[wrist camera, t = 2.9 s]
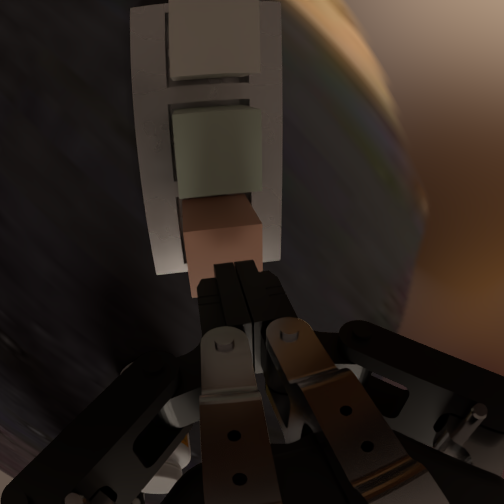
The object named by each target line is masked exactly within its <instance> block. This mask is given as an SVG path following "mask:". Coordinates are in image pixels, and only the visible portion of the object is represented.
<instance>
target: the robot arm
mask: <svg viewBox="0 0 504 504" xmlns="http://www.w3.org/2000/svg"><path fill="white" fill-rule="evenodd" d="M213 266H214V278H205V279H201V281H200V282H199V284H198V286H197V296H198V305H199V313H200V322H201V330H202V339H201V342H200V343H199V345H198V346H197V347H196V348H195V349H194V350H193V351H191V352H189V353H187V354H185V355H182V356H180V357H177V358H175V357H174V356H173V355H172V354H170V353H168V352H164V351H151V352H148V353H145V354H143V355H141V356H140V357H138V358H137V359H136V360H135V361H134V362H133V363H132V364H131V365H130V366H129V367H128V368H127V369H126V370H125V371H124V372H123V373H122V374H121V375H120V376H118V377H117V378H116V379H115V380H114V381H113V382H112V383H111V384H110V385H109V386H108V387H107V388H106V389H105V390H104V391H103V392H102V393H101V394H100V395H99V396H98V397H97V398H96V399H95V400H94V401H93V402H92V403H91V404H90V405H89V406H88V407H87V408H86V409H85V410H84V411H83V412H82V413H80V414H79V415H78V416H77V417H76V418H75V419H74V420H73V421H72V422H71V423H70V424H69V425H68V426H67V427H66V428H65V429H64V430H63V431H62V432H61V433H60V434H59V435H58V436H57V437H56V438H55V439H54V440H53V441H52V442H51V443H50V444H49V445H48V446H47V447H46V448H45V449H44V450H43V451H42V452H41V453H40V454H39V455H38V456H36V457H35V458H34V459H33V460H32V461H31V462H30V463H29V464H28V465H27V466H26V467H25V468H24V469H23V470H22V471H21V472H20V473H19V474H18V475H17V476H16V477H15V478H14V479H13V480H12V481H11V482H10V483H9V484H8V485H7V486H6V487H5V489H4V490H3V493H2V496H1V504H131V503H132V502H133V501H134V499H135V498H136V497H137V496H138V495H139V493H140V492H141V491H142V490H143V489H144V487H145V486H146V485H147V484H148V483H149V481H150V480H151V479H152V478H153V477H154V475H155V474H156V473H157V472H158V470H159V469H160V468H161V467H162V465H163V464H164V463H165V462H166V460H167V459H168V458H169V457H170V455H171V454H172V453H173V452H174V450H175V449H176V448H177V447H178V445H179V444H180V443H181V441H182V440H183V439H184V438H185V436H186V435H187V434H188V432H189V431H190V430H191V428H192V427H193V424H194V422H196V421H199V420H200V437H201V457H202V463H200V464H198V465H196V466H194V467H193V468H191V469H190V470H188V471H187V472H186V473H185V474H183V475H182V476H181V477H180V478H179V480H178V481H177V482H176V483H175V484H174V486H173V487H172V488H171V490H170V491H169V493H168V494H167V495H166V497H165V498H164V500H163V501H162V502H161V504H504V479H503V478H502V477H501V476H502V472H503V469H504V376H501V375H499V374H496V373H494V372H491V371H489V370H486V369H484V368H481V367H478V366H476V365H473V364H470V363H468V362H466V361H463V360H461V359H458V358H455V357H453V356H451V355H448V354H446V353H443V352H440V351H438V350H436V349H433V348H431V347H428V346H426V345H423V344H421V343H418V342H416V341H414V340H411V339H409V338H406V337H404V336H401V335H399V334H397V333H394V332H392V331H389V330H387V329H384V328H382V327H380V326H377V325H375V324H372V323H370V322H367V321H362V320H355V321H350V322H347V323H345V324H344V325H343V326H342V327H341V328H340V331H339V333H327V332H318V331H314V330H312V328H311V327H310V326H309V324H307V323H306V322H305V321H303V320H301V319H298V317H297V315H296V313H295V311H294V309H293V307H292V305H291V303H290V301H289V299H288V297H287V295H286V294H285V291H284V289H283V287H282V285H281V283H280V281H279V279H278V277H277V276H275V275H274V274H272V273H271V272H270V271H261V272H258V269H257V267H256V265H255V262H254V260H244V261H236V262H234V264H233V262H228V263H220V264H214V265H213ZM253 368H254V369H253ZM254 371H255V374H256V373H262V372H263V373H264V377H265V390H266V393H267V395H268V398H269V400H270V403H271V405H272V407H273V410H274V412H275V415H276V417H277V419H278V422H279V424H280V426H281V429H282V431H283V434H284V437H285V442H286V444H270V440H269V435H268V430H267V425H266V420H265V414H264V409H263V404H262V399H261V394H260V391H259V390H257V386H256V380H255V375H254ZM372 372H374V373H377V374H379V375H381V376H383V377H386V378H388V379H390V380H392V381H395V382H397V383H399V384H401V385H404V386H405V387H407V389H408V390H403V389H400V388H398V387H395V386H393V385H391V384H389V383H387V382H384V381H382V380H380V379H378V378H376V377H373V376H371V374H372ZM425 444H426V445H425ZM427 445H428V446H427ZM430 446H431V447H430ZM432 447H433V448H432Z"/></svg>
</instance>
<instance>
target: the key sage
mask: <svg viewBox="0 0 504 504" xmlns="http://www.w3.org/2000/svg"><path fill="white" fill-rule="evenodd" d="M172 119H173V134H174V147H175V159H176V170H177V181H178V191H179V199H184V198H193V197H202V196H212V195H223V194H233V193H245V192H257V191H262V124H261V109H258V108H254V107H250V106H246V105H223V106H208V107H195V108H184V109H175V110H174V112H173V114H172Z"/></svg>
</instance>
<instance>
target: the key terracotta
mask: <svg viewBox="0 0 504 504" xmlns="http://www.w3.org/2000/svg"><path fill="white" fill-rule="evenodd" d="M182 215H183V235H184V243H185V251H186V259H187V266H188V273H189V280H190V287H191V294H192V298H196V297H198V296H197V286H198V284H199V282H200V281H201V279H205V278H214V266H213V265H214V264H220V263H228V262H233V264H234V262H236V261H244V260H254V262H255V265H256V267H257V269H258V272H261V271H263V244H262V222H261V221H260V219H259V217H258V216H257V214H256V212H255V211H254V209H253V207H252V206H251V204H250V202H249V201H248V199H247V197H246V196H245V194H232V195H222V196H212V197H202V198H192V199H183V200H182Z"/></svg>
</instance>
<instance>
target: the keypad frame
mask: <svg viewBox="0 0 504 504" xmlns="http://www.w3.org/2000/svg"><path fill="white" fill-rule="evenodd" d="M259 13H260V61H261V73H257V74H252V75H248V76H243V77H225V78H206V79H192V80H181V81H173V80H172V79H171V78H170V59H169V3H164V4H155V5H148V6H140V7H134V8H130V50H131V76H132V93H133V108H134V120H135V131H136V141H137V151H138V160H139V168H140V176H141V184H142V191H143V198H144V205H145V212H146V218H147V225H148V231H149V237H150V242H151V248H152V254H153V259H154V264H155V269H156V275H161V274H170V273H178V272H187V271H188V266H187V259H186V251H185V243H184V235H183V215H182V200H183V199H179V191H178V181H177V170H176V159H175V147H174V134H173V119H172V114H173V112H174V110H175V109H184V108H195V107H208V106H223V105H246V106H250V107H254V108H258V109H261V124H262V191H257V192H245V193H233V194H245V196H246V197H247V199H248V201H249V202H250V204H251V206H252V207H253V209H254V211H255V212H256V214H257V216H258V217H259V219H260V221H261V222H262V244H263V262H269V261H277V260H280V255H281V213H282V34H281V2H272V1H259ZM223 195H232V194H223ZM212 196H222V195H212ZM212 196H202V197H212ZM202 197H193V198H202ZM184 199H192V198H184Z"/></svg>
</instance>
